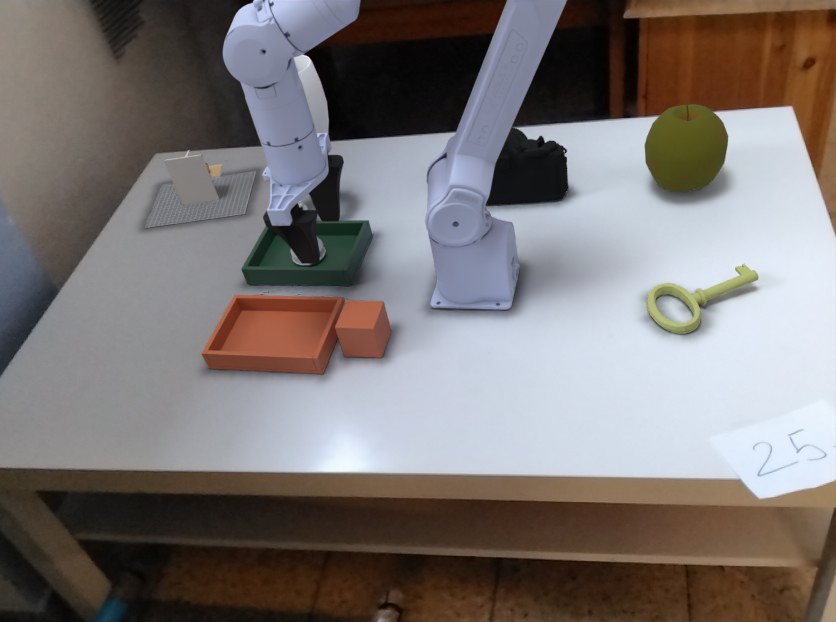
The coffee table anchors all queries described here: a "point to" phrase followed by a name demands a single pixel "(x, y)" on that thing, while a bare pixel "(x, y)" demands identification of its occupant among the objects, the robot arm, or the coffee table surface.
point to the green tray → (335, 269)
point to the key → (695, 299)
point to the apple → (686, 148)
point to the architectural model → (199, 193)
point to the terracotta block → (363, 328)
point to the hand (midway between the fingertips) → (321, 240)
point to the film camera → (529, 171)
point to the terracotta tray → (275, 334)
